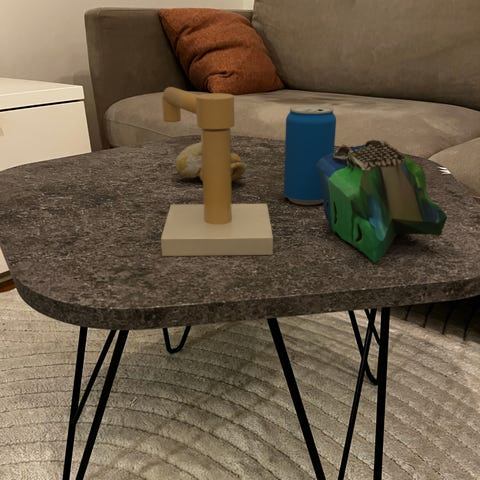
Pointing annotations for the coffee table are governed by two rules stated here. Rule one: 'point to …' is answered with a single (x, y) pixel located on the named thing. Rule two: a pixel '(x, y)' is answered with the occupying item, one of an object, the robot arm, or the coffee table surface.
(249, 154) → the coffee table surface
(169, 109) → the spout
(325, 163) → the sculpture
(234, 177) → the seashell
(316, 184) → the beverage can
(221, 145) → the faucet base
